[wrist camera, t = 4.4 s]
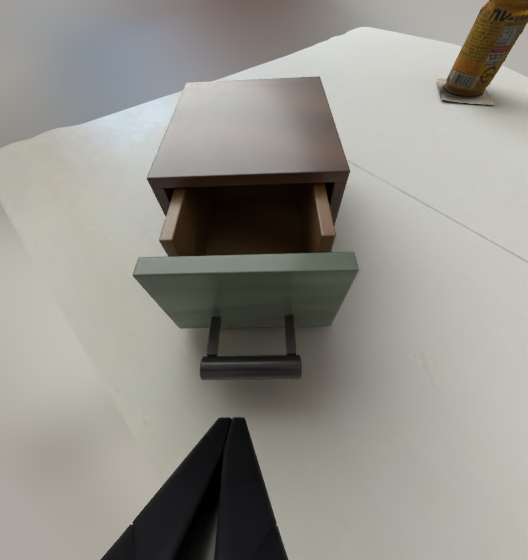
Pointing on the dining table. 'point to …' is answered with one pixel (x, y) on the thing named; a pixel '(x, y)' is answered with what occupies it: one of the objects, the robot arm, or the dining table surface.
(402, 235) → the dining table surface
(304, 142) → the cabinet
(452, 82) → the condiment
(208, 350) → the drawer
